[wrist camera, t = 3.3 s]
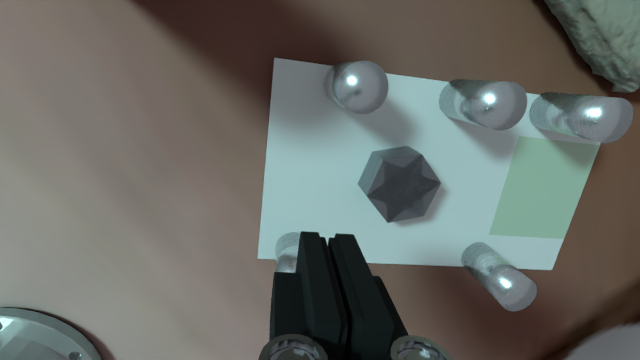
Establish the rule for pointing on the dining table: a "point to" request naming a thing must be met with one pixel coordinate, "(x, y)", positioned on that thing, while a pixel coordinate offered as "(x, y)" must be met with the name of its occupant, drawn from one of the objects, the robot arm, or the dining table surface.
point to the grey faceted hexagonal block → (399, 183)
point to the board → (443, 157)
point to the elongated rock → (604, 37)
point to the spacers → (491, 112)
